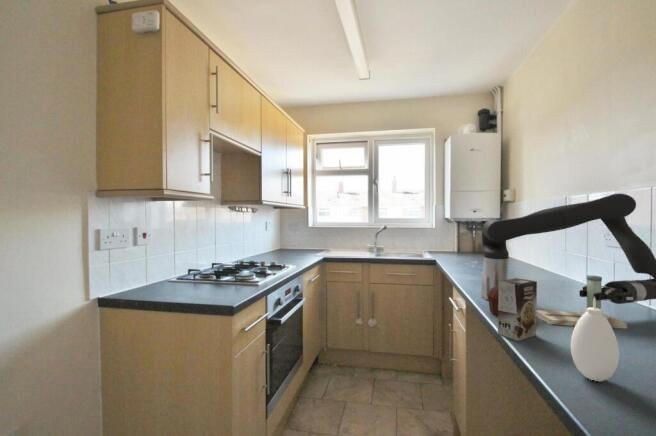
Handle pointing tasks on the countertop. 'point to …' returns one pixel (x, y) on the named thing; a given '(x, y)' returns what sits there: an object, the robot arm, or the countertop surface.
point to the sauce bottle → (594, 345)
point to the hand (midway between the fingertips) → (587, 295)
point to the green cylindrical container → (592, 288)
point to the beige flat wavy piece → (571, 318)
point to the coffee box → (517, 308)
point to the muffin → (493, 299)
